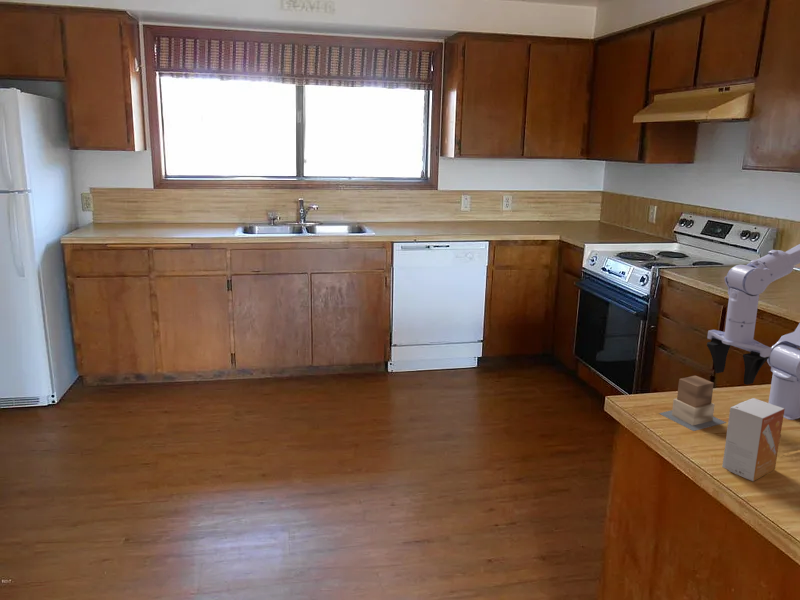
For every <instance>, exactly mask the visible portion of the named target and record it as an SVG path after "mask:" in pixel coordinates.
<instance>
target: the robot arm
mask: <svg viewBox="0 0 800 600" xmlns="http://www.w3.org/2000/svg"><path fill="white" fill-rule="evenodd" d="M767 253H768V254H766V255H764V256H762V257H759V258H757V259H752V260H750V261H749V263H747V264H736V265H734V266H733V267H731V268H730V269H729V270H728V272H727V274H726V276H724V283H725V285H726V287H727V295H728V303H727V310H726V311H727V312H726V319H725V327H724V331H721V330H717V329H710V330H708V331H707V337H706V338H707V340H710V341H708V342H706V347H707V349H708V350H709V353H710V355H711V359H712V362H713V363H712V364H713V367H714V368H713V369H714V373H715V374H720V373H724V371H725V368H726V362H727V356H728V353H729V351H730V348H731V346H733V347H735V348H738V349H741V350H744V351H747V352H749V353H743V354H742V359H743V363H744V375H743V384H745V385H746V386H748V385H751V384H754V382H755V380H756V378H757V375H758V372H759V371H760V369H761V368H762V367H763V365H764V364H765V362H767V364H768V365H769V367H770V372H772V376H771V377H772V378H771V382H770V390H769V397H768V403H770V404H773V405H775V406H779V407H781V408H784V409H785V410H784V416H783V419H786V420H788V421H789V420H790V421H793V420H798V419H800V322H799V323H798V325H797V327H796V328H795V329H794V331H792V332H789V333H786V334H784V335H781V337H780V338H779V339H778V341H776V343H775V344H772V346H771V347H770V346H768V345H765V344H763V343H762V342H759V341H757V340H755V339H754V338H755V329H756V323H757V315H758V314H757V313H758V308H759V299H760V295H761V294H763V293H764V292H765V291H766V289H767V287H768V286H770V284H771V283H773V282H775V281H777V280H779V279H781V278H783V277H786V276H787V275H789V274H791V273H792V272H793V270H794V268H795V267H794V266H796V265H799V264H800V243H799V244H797V245H795V246H793V247H792V248H789V249H788V250H786V251H783V250H781V249H780V250H779V249H771V250H769V251H768V252H767Z"/></svg>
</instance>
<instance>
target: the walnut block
mask: <svg viewBox="0 0 800 600" xmlns="http://www.w3.org/2000/svg"><path fill="white" fill-rule="evenodd" d="M678 379H679V380H678V387H677V396H676V398H677V400H679V401H682V402H684V403H686V404H688V405H690V406H692V407H699V406H704V405H708V404H711V403H712V399H713V392H714V385H715V382H713V381H710V380H708V379H705V378H703V377H701V376H698V375H691V376H688V377H682V378H678Z"/></svg>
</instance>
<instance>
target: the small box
mask: <svg viewBox="0 0 800 600" xmlns="http://www.w3.org/2000/svg"><path fill="white" fill-rule="evenodd" d="M784 410H785V409H784V408H781V407H779V406H775V405H773V404H770V403H769V402H766V401H764V400H760V399H758V398H755V397H752V398H749V399H747V400H745V401H741V402H739V403H737V404H735V405H733V406H730V409H729V414H728V424H727V429H726V438H725V446H724V447H725V448H724V451H723V452H724V453H723V459H722V465H721V466H722V468H723V469H726V470H727V472H730V473H733V474H735V475H737V476H740V477H741V478H744V479H746V480H748V481H752V482H755V481H756V480H758V479H760V478H762V477H763V476H765V475H767V474H769V473H771V472H773V471H775V470H776V464H777V460H778V459H777V457H778V452H779V447H780V440H781V434H782V427H783V423H784V422H783V421H784V417H783V416H784Z"/></svg>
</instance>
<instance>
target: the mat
mask: <svg viewBox="0 0 800 600" xmlns="http://www.w3.org/2000/svg"><path fill="white" fill-rule="evenodd" d="M658 415H661V416H663V417H665V418H667V419H668V420H670V421H673V422H674V423H676V424H679V425H680V426H683V427H684V428H687V429H689V430H691V431H692V432H696V431H699V430H702V429H707V428H711V427H715V426H720V425H722V424H726V423H727V422H726V421H725V420H722V419H720V418H717V417H715V416H713V421H709V422H705V423H701V424H697V425H691V424H689V423H687V422H685V421H683V420H681V419H679V418H677V417H675V416H673V415H672V409H671V410H668V411H663V412H659V413H658Z"/></svg>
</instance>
